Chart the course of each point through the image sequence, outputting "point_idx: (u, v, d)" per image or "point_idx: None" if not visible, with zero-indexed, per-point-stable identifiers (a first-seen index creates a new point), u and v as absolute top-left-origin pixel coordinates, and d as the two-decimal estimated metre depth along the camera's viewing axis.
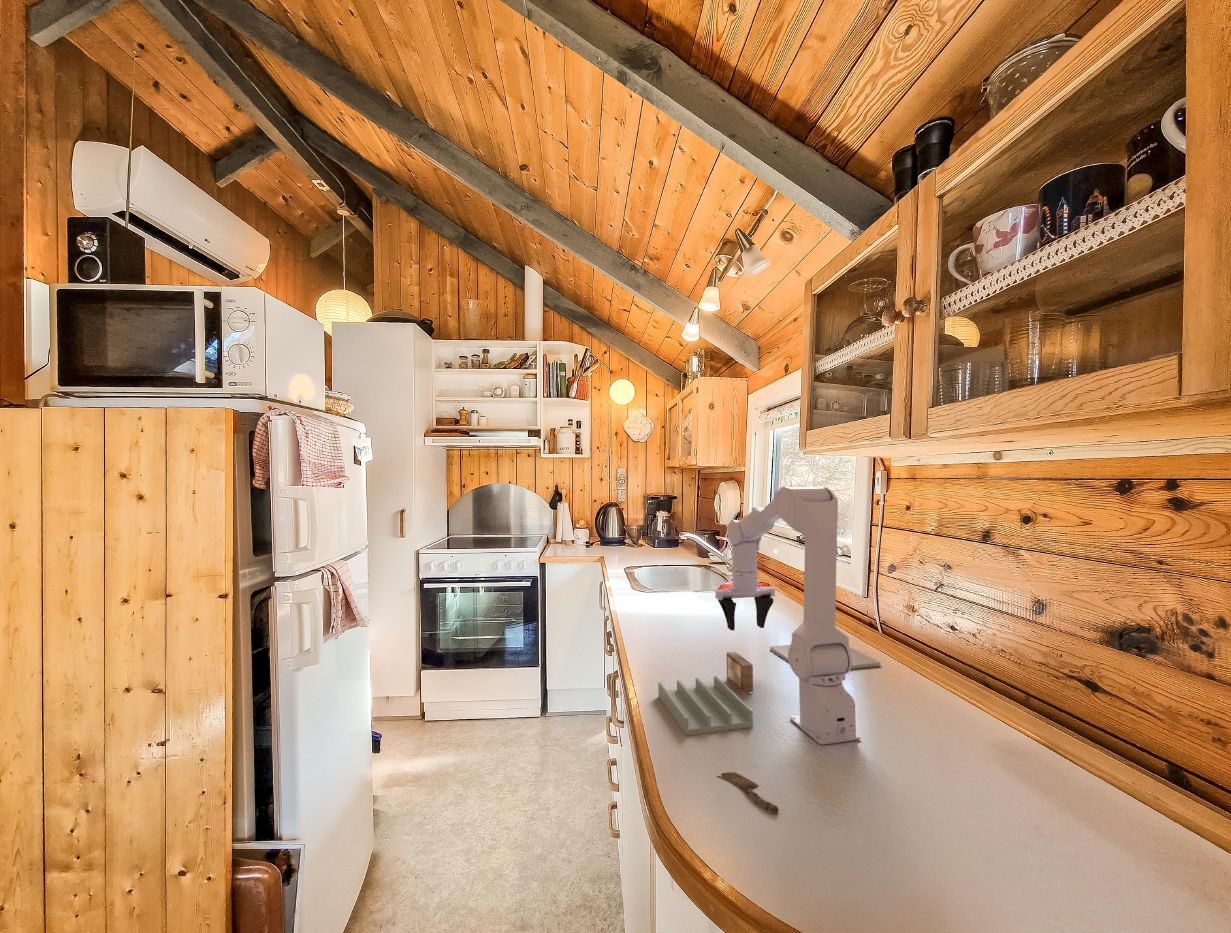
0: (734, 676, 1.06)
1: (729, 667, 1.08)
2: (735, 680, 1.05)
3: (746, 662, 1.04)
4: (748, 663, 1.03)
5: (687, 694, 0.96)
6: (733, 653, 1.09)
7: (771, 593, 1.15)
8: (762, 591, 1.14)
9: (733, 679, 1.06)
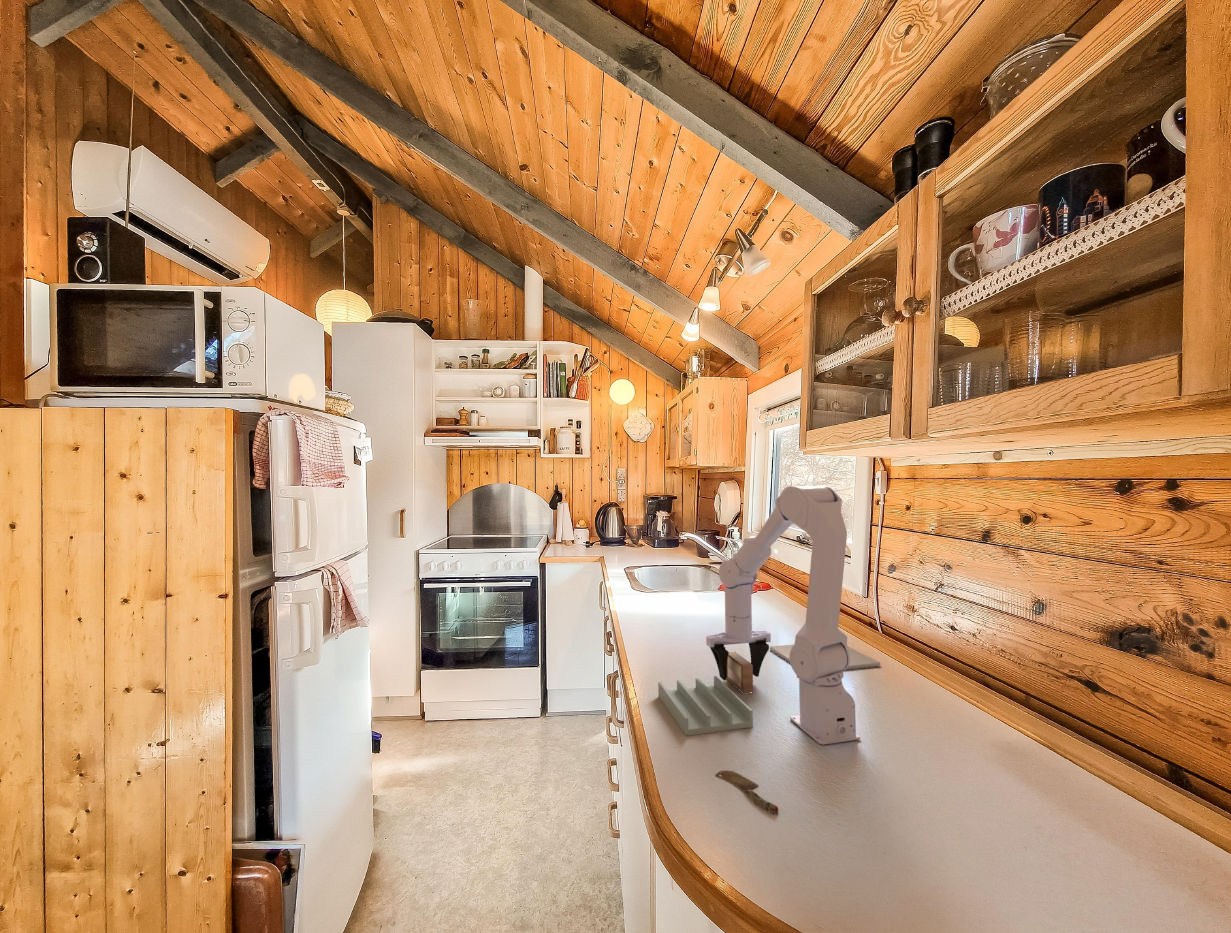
0: (734, 676, 1.06)
1: (729, 667, 1.08)
2: (735, 680, 1.05)
3: (746, 662, 1.04)
4: (748, 663, 1.03)
5: (687, 694, 0.96)
6: (733, 653, 1.09)
7: (767, 639, 1.07)
8: (757, 637, 1.05)
9: (733, 679, 1.06)
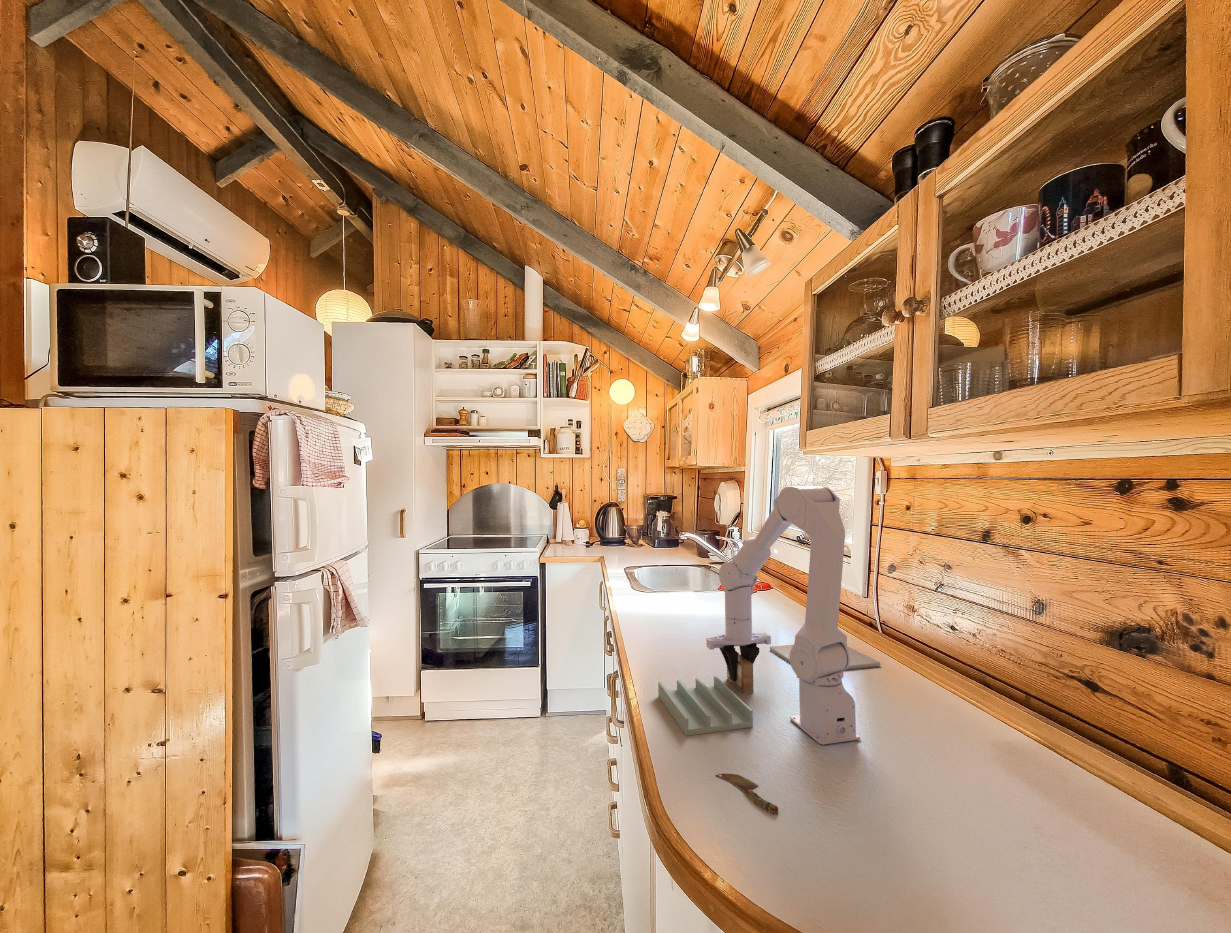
0: None
1: None
2: None
3: (746, 662, 1.04)
4: (748, 663, 1.03)
5: (687, 694, 0.96)
6: None
7: (767, 641, 1.07)
8: (757, 639, 1.05)
9: None
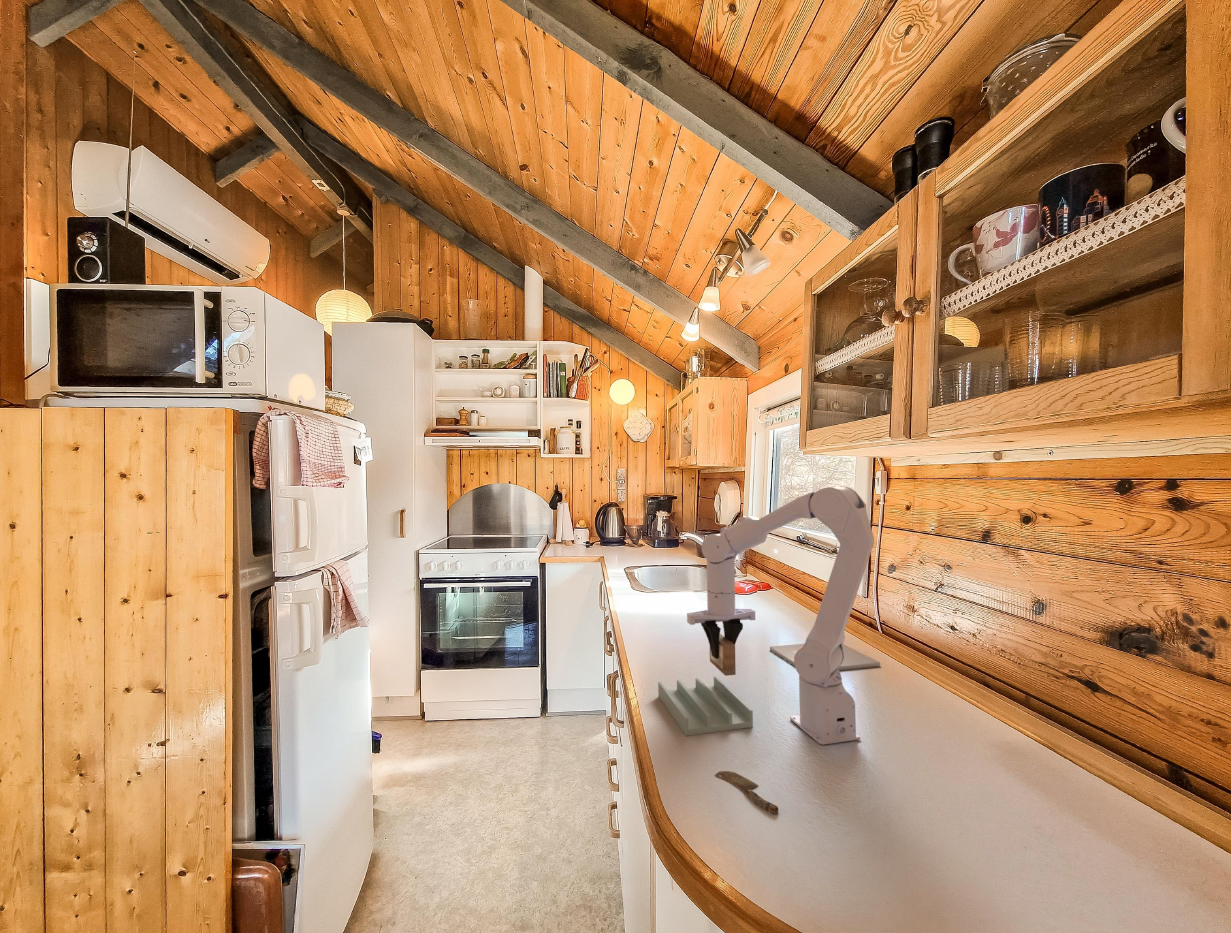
0: None
1: None
2: (717, 661, 1.00)
3: (728, 642, 0.99)
4: (730, 643, 0.98)
5: (687, 694, 0.96)
6: None
7: (751, 616, 1.01)
8: (740, 614, 1.00)
9: (715, 661, 1.01)
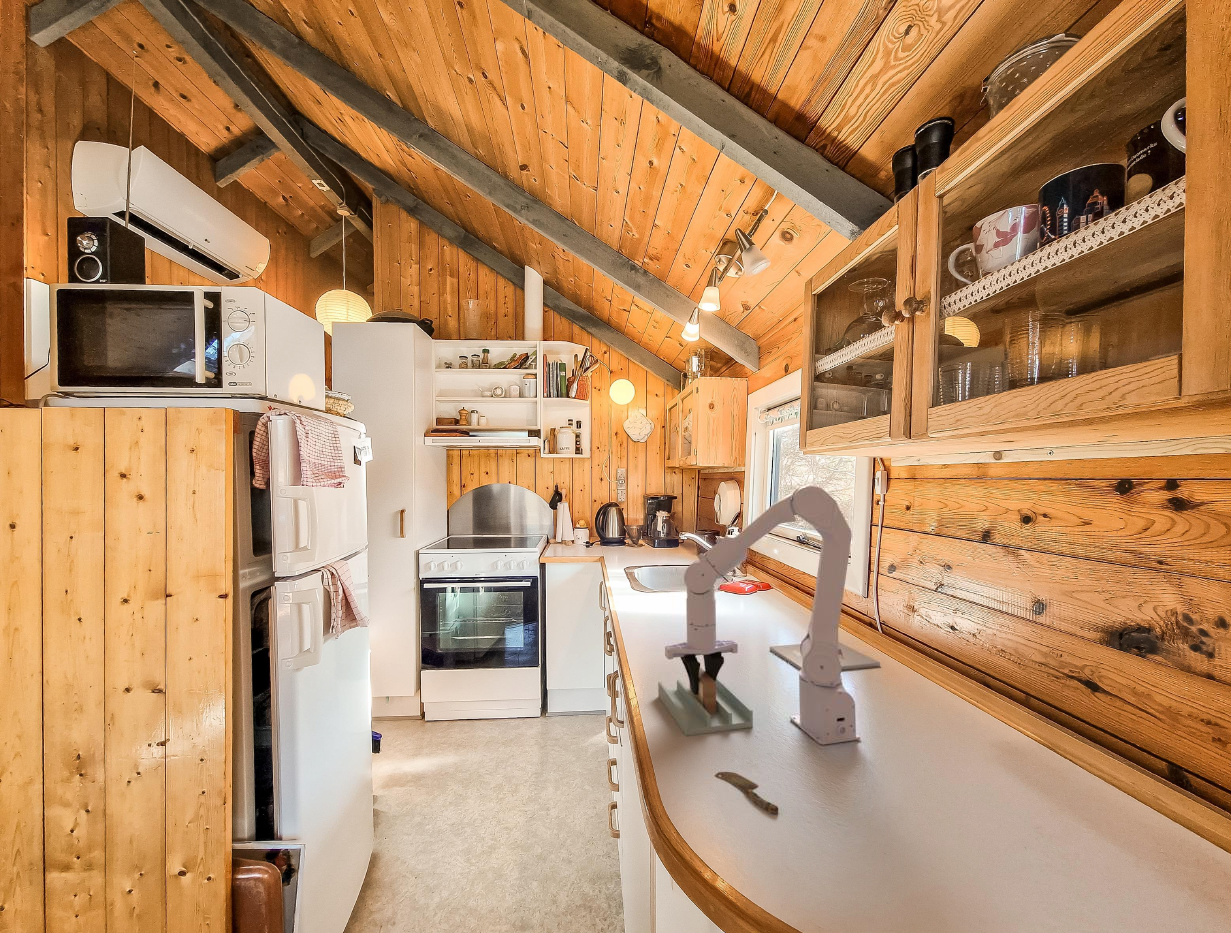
0: None
1: None
2: (697, 699, 0.94)
3: (709, 679, 0.92)
4: (711, 680, 0.92)
5: (687, 694, 0.96)
6: None
7: (733, 649, 0.95)
8: (721, 648, 0.94)
9: None
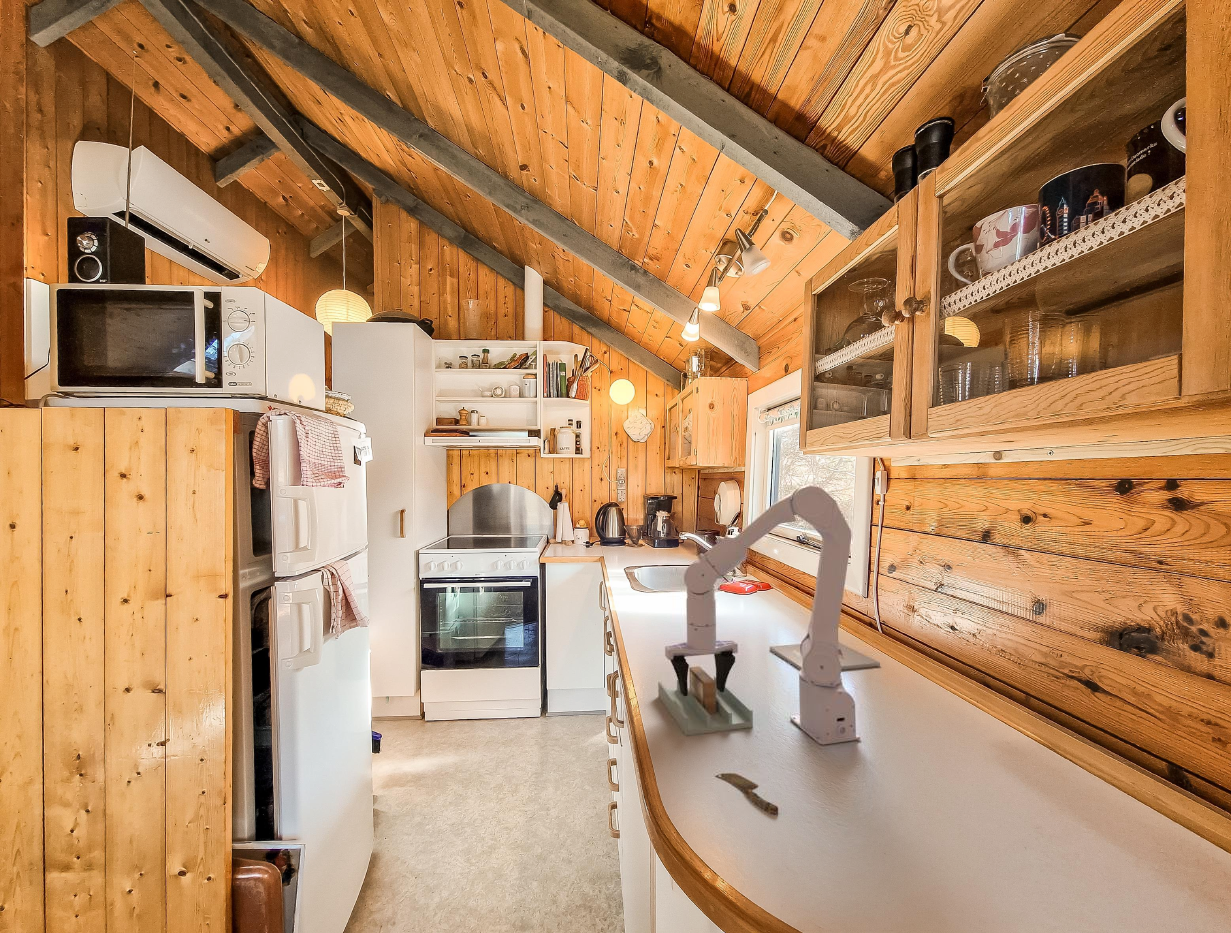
0: (696, 694, 0.94)
1: (692, 684, 0.97)
2: (697, 699, 0.94)
3: (709, 679, 0.92)
4: (711, 680, 0.92)
5: (687, 694, 0.96)
6: (696, 668, 0.98)
7: (733, 649, 0.95)
8: (721, 648, 0.94)
9: None
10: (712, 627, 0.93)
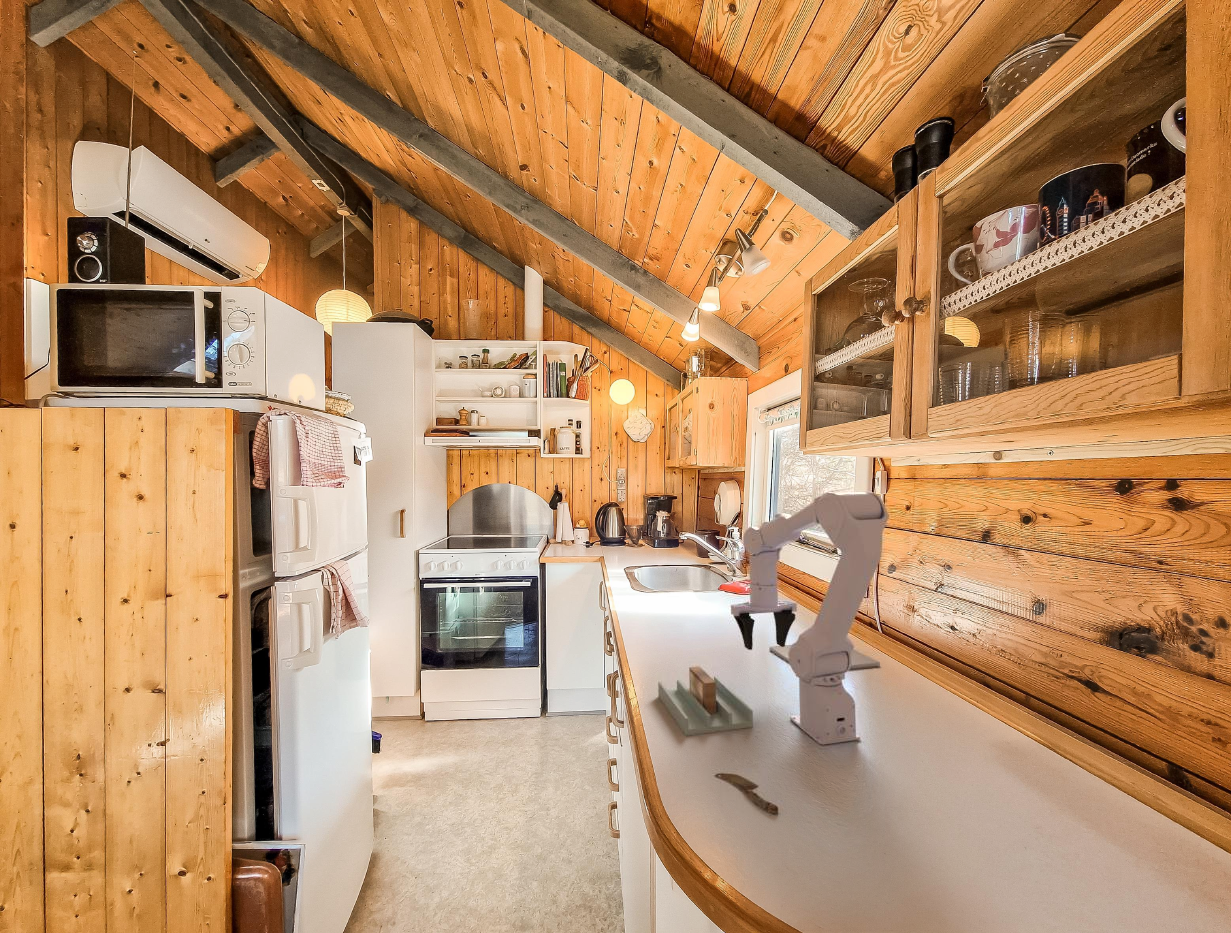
0: (696, 694, 0.94)
1: (692, 684, 0.97)
2: (697, 699, 0.94)
3: (709, 679, 0.92)
4: (711, 680, 0.92)
5: (687, 694, 0.96)
6: (696, 668, 0.98)
7: (792, 608, 1.04)
8: (783, 606, 1.02)
9: None
10: (775, 586, 1.01)
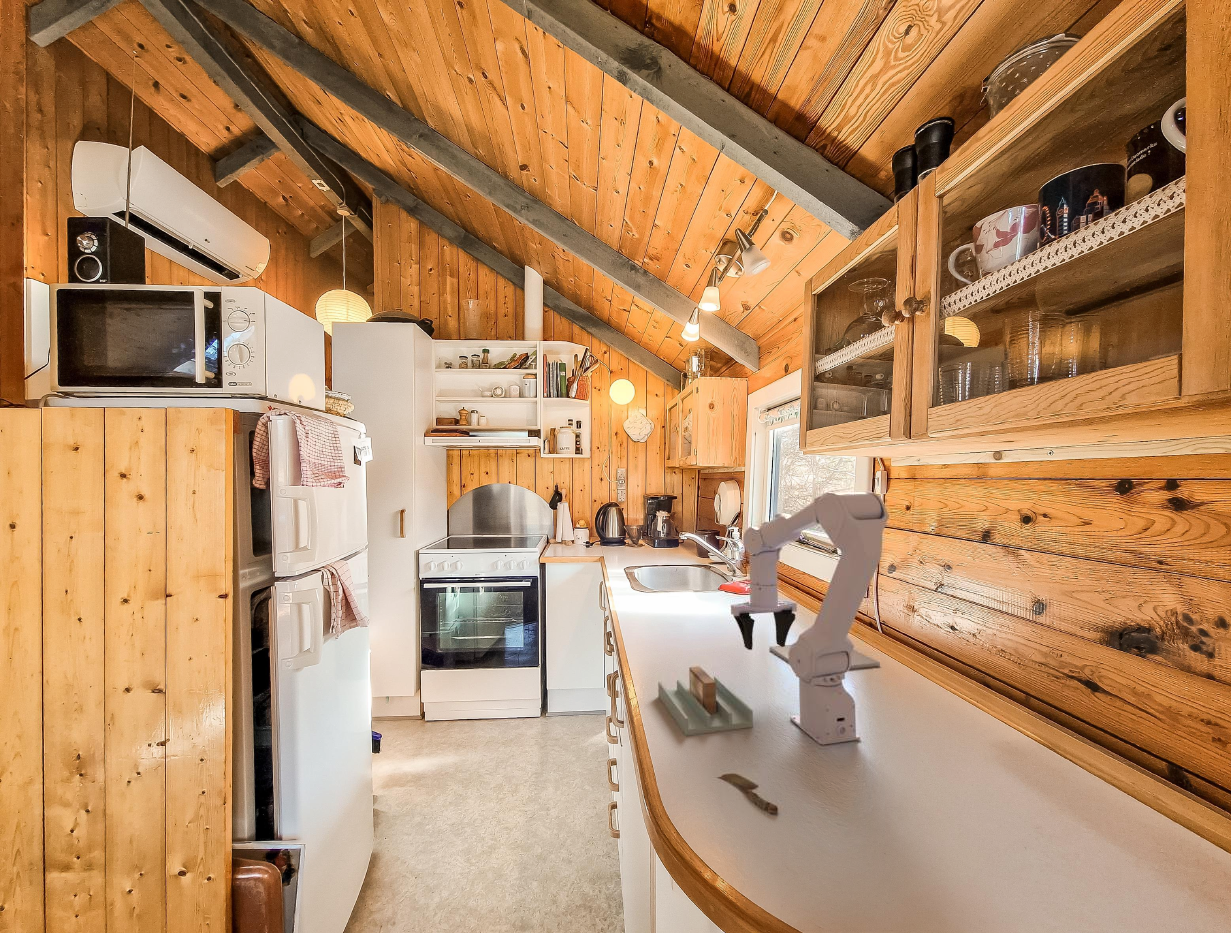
0: (696, 694, 0.94)
1: (692, 684, 0.97)
2: (697, 699, 0.94)
3: (709, 679, 0.92)
4: (711, 680, 0.92)
5: (687, 694, 0.96)
6: (696, 668, 0.98)
7: (792, 608, 1.04)
8: (783, 606, 1.02)
9: None
10: (775, 586, 1.01)
